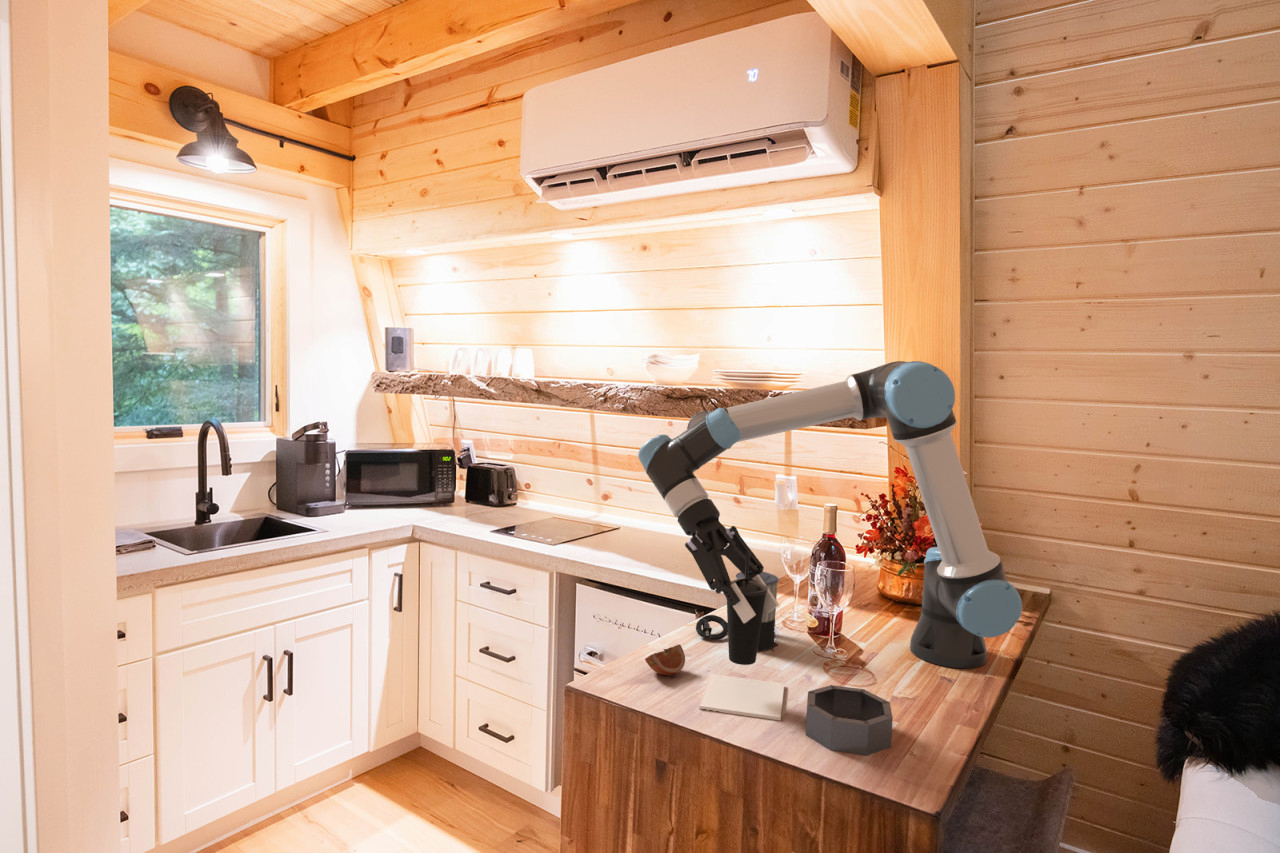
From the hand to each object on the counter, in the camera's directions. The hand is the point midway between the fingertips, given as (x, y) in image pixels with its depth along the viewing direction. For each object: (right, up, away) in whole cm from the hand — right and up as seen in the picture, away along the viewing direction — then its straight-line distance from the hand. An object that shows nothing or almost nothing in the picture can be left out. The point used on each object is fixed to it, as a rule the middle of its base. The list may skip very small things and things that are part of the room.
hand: (761, 613), depth 137 cm
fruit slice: (-17, -15, +13) cm, 26 cm away
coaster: (-3, -16, +4) cm, 17 cm away
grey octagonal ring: (+13, -18, -8) cm, 24 cm away
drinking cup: (-3, -9, +3) cm, 10 cm away
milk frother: (-1, -14, +32) cm, 35 cm away
